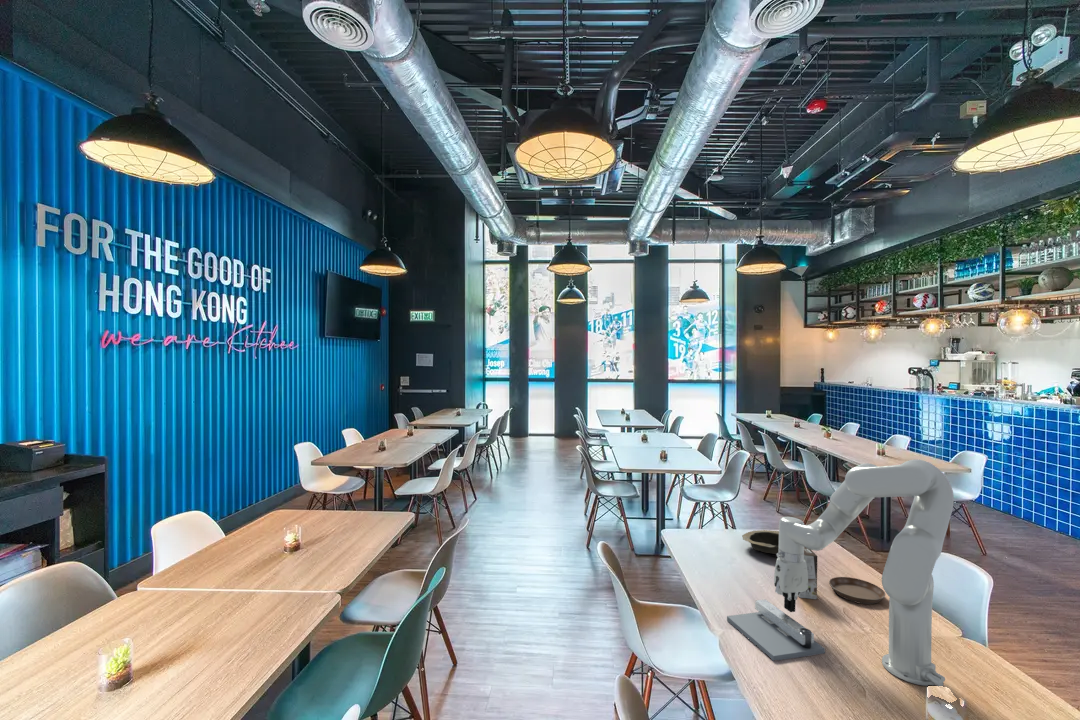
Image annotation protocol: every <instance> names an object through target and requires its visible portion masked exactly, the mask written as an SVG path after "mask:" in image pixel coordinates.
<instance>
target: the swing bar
mask: <svg viewBox="0 0 1080 720" xmlns="http://www.w3.org/2000/svg"><path fill="white" fill-rule="evenodd" d="M754 609H755V610H757V612H760V613H762V614H763V615H764V616H765V617H767V618H768V619H769V620H771V621H772V622H773V623H775V624H776V625H777V626H779V627H780V628H781V629H783V630H784V631H785V632H786V633H788V634H789V635H790V636H792V637H793V638H794V639H796V640H797V641H798V642H800V645H801V646H802V647H804V648H811V644H812V643H814V641H815V633H813V632H812V630H810V629H809V628H807V627H805V626H804V625H802V624H800V623H799V622H798V621H796V619H794V618H792V617H791V616H790V615H788V614H786V613H785V612H784V611H782V610H781V609H780V608H778V607H777V606H775V605H774V604H772V603H771V602H770V601H768V600H767V599H758V600H755V602H754Z"/></svg>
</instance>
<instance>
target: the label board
mask: <svg viewBox="0 0 1080 720" xmlns="http://www.w3.org/2000/svg"><path fill="white" fill-rule="evenodd" d="M726 621H727V622H728V623H729V624H731V625H732V626H733V627H734V628H735V629H736V630H737V629H738V630H739V631H738V630H737V631H738V632H740V634H742V633H743V634H744V635H745V636H746V637H747V638H746V637H745V636H744V635H743V634H742V635H743V636H744V637H745V638H746V639H748V638H749V639H750V640H751V641H752V642H753V643H754V644H755V645H754V644H753V643H752V642H751V641H750V640H749V639H748V640H749V641H750V642H751V643H752V644H753V645H754V646H756V645H757V646H758V647H759V648H760V649H761V650H762V651H763V652H762V653H763V654H765V653H766V654H767V655H768V656H769V657H770V658H771V661H773V662H775V661H774V660H778V661H783V659H784V660H788V659H789V660H790V659H795V658H802V657H809V656H816V655H823V654H826V648H825V647H824V646H823V645H821V644H820V643H818V642H817V641H816V640H814V643H812V644H811V648H804V647H802V646H801V645H800V642H798V641H797V640H796V639H794V638H793V637H792V636H790V635H789V634H788V633H786V632H785V631H784V630H783V629H781V628H780V627H779V626H777V625H776V624H775V623H773V622H772V621H771V620H769V619H768V618H767V617H765V616H764V615H763V614H762V613H760V612H759V611H755V612H749V613H741V614H733V615H727V616H726ZM757 646H756V647H757ZM758 647H757V648H758ZM759 648H758V649H759ZM760 649H759V650H760ZM761 650H760V651H761ZM766 654H765V655H766ZM767 655H766V656H767ZM768 656H767V657H768ZM769 657H768V658H769ZM770 658H769V659H770Z"/></svg>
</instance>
